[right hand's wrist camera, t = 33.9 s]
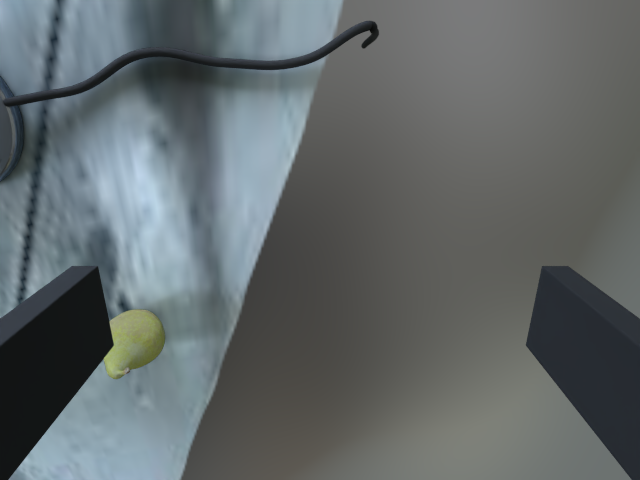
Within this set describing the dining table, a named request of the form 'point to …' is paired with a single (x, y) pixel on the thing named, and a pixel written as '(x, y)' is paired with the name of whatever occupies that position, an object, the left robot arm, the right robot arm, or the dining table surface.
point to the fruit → (133, 341)
